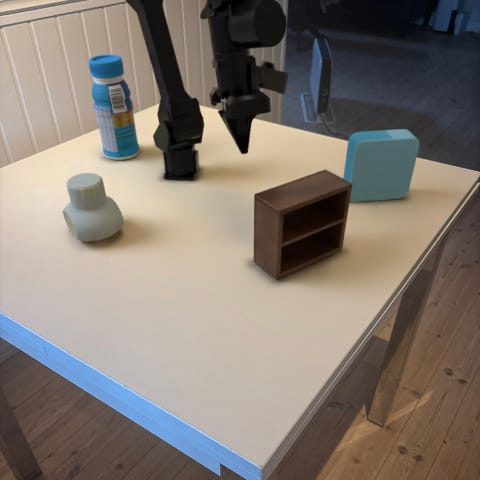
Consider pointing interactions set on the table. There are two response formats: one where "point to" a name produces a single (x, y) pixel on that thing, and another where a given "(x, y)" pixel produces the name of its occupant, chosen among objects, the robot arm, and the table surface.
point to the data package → (380, 164)
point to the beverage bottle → (113, 107)
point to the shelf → (300, 222)
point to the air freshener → (91, 209)
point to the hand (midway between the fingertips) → (244, 153)
